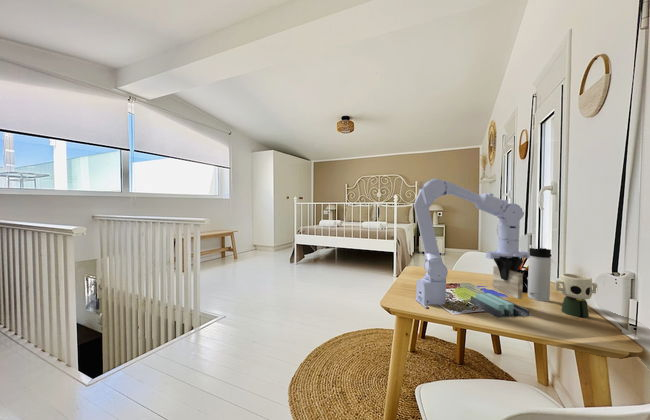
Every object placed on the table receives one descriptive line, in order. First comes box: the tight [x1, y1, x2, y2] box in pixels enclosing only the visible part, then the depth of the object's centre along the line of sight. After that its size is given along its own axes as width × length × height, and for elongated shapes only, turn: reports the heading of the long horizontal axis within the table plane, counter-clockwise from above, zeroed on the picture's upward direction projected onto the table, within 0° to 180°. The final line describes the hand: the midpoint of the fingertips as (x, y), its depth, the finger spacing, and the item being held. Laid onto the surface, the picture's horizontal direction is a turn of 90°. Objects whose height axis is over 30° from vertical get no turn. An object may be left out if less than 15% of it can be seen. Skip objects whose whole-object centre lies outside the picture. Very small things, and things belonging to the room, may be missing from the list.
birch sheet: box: [492, 265, 524, 300], centre depth 86 cm, size 2×10×8 cm, turn 8°
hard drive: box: [476, 285, 510, 299], centre depth 102 cm, size 2×8×12 cm
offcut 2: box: [483, 292, 515, 314], centre depth 86 cm, size 2×10×3 cm, turn 7°
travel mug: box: [527, 247, 552, 303], centre depth 94 cm, size 6×7×20 cm
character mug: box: [554, 272, 598, 319], centre depth 81 cm, size 11×7×13 cm, turn 75°
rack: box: [465, 296, 535, 319], centre depth 86 cm, size 13×14×2 cm
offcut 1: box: [475, 293, 505, 314], centre depth 85 cm, size 2×10×3 cm, turn 8°
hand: (507, 279), depth 86 cm, fingers closed on birch sheet, 2 cm apart
